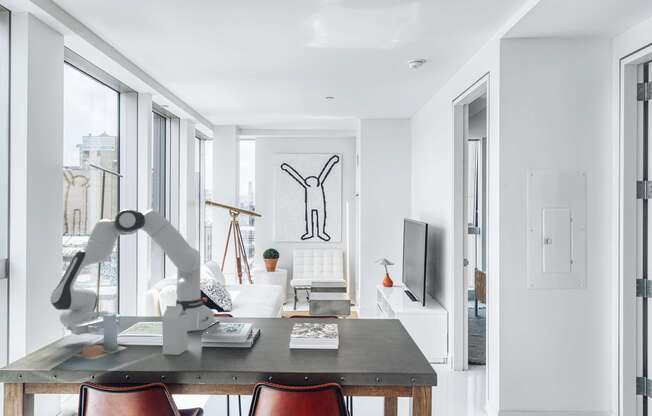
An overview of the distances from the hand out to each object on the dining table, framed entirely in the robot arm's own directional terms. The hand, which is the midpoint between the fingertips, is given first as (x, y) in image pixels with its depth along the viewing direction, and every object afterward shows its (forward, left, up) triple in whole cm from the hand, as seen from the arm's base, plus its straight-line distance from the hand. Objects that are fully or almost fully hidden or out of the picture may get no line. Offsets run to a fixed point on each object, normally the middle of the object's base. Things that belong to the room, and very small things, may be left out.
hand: (107, 326), depth 188 cm
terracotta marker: (+8, +2, -9) cm, 12 cm away
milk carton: (-12, +26, -10) cm, 31 cm away
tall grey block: (0, +2, -9) cm, 9 cm away
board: (+4, +2, -10) cm, 11 cm away
